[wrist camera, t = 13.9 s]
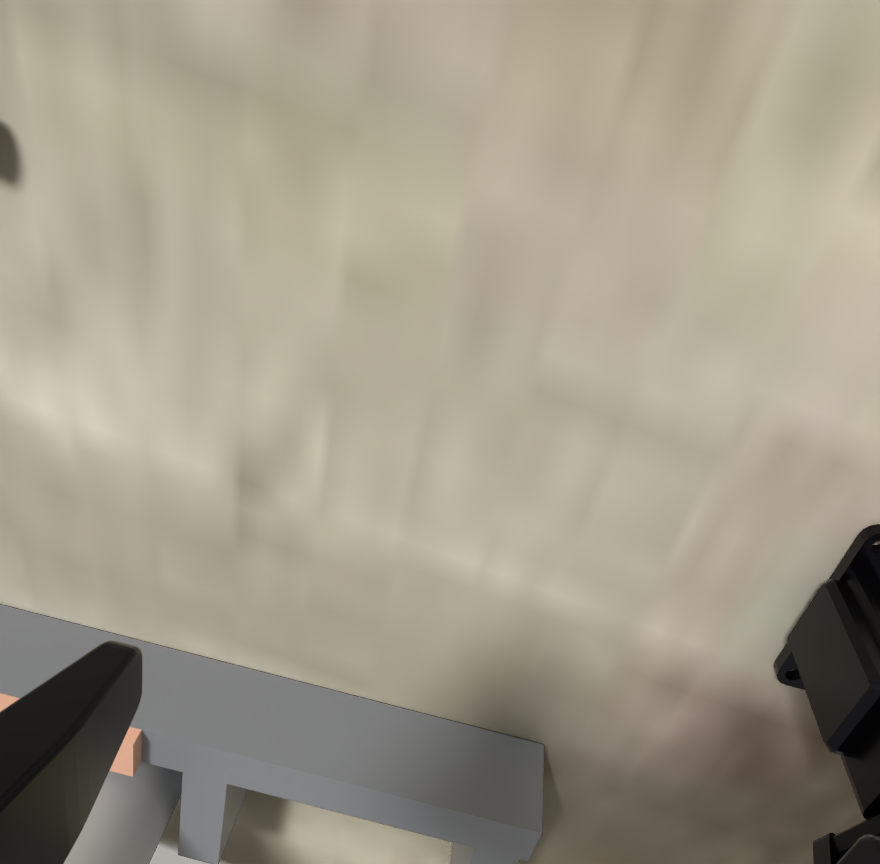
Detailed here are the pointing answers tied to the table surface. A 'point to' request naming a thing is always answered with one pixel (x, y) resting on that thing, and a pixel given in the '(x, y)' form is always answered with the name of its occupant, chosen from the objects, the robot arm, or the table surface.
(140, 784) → the can
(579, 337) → the table surface
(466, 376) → the table surface
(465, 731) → the comb rack
